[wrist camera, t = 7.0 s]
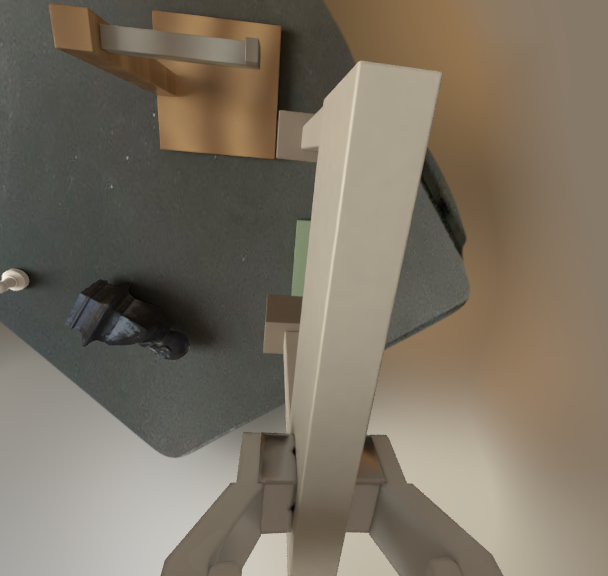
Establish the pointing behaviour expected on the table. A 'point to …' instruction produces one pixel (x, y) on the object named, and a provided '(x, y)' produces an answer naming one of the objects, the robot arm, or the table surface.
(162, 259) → the table surface
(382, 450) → the robot arm
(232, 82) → the stand
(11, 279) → the chess pawn
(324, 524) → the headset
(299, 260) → the mat
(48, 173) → the table surface
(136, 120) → the table surface
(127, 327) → the dark knob-ended part
